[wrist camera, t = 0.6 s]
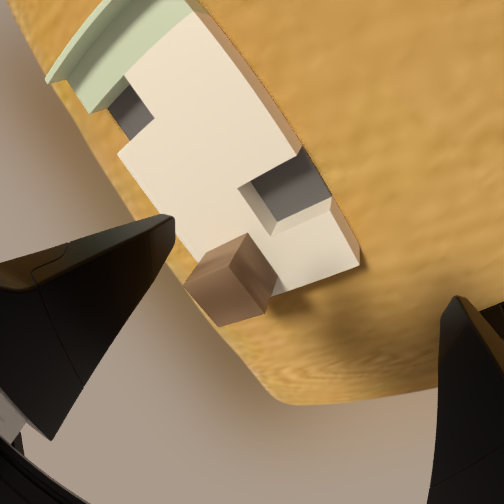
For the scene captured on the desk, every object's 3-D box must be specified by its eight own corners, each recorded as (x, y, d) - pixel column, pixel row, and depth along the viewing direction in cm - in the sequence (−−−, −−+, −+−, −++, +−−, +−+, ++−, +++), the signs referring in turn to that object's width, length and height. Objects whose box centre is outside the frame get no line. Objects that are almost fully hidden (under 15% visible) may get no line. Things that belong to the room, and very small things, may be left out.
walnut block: (278, 276, 23) (264, 313, 20) (236, 291, 25) (218, 327, 22) (247, 232, 22) (228, 266, 19) (205, 252, 24) (182, 285, 21)
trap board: (359, 245, 23) (359, 283, 19) (243, 289, 28) (226, 325, 25) (175, -25, 15) (138, -37, 11) (84, 70, 20) (44, 78, 17)
